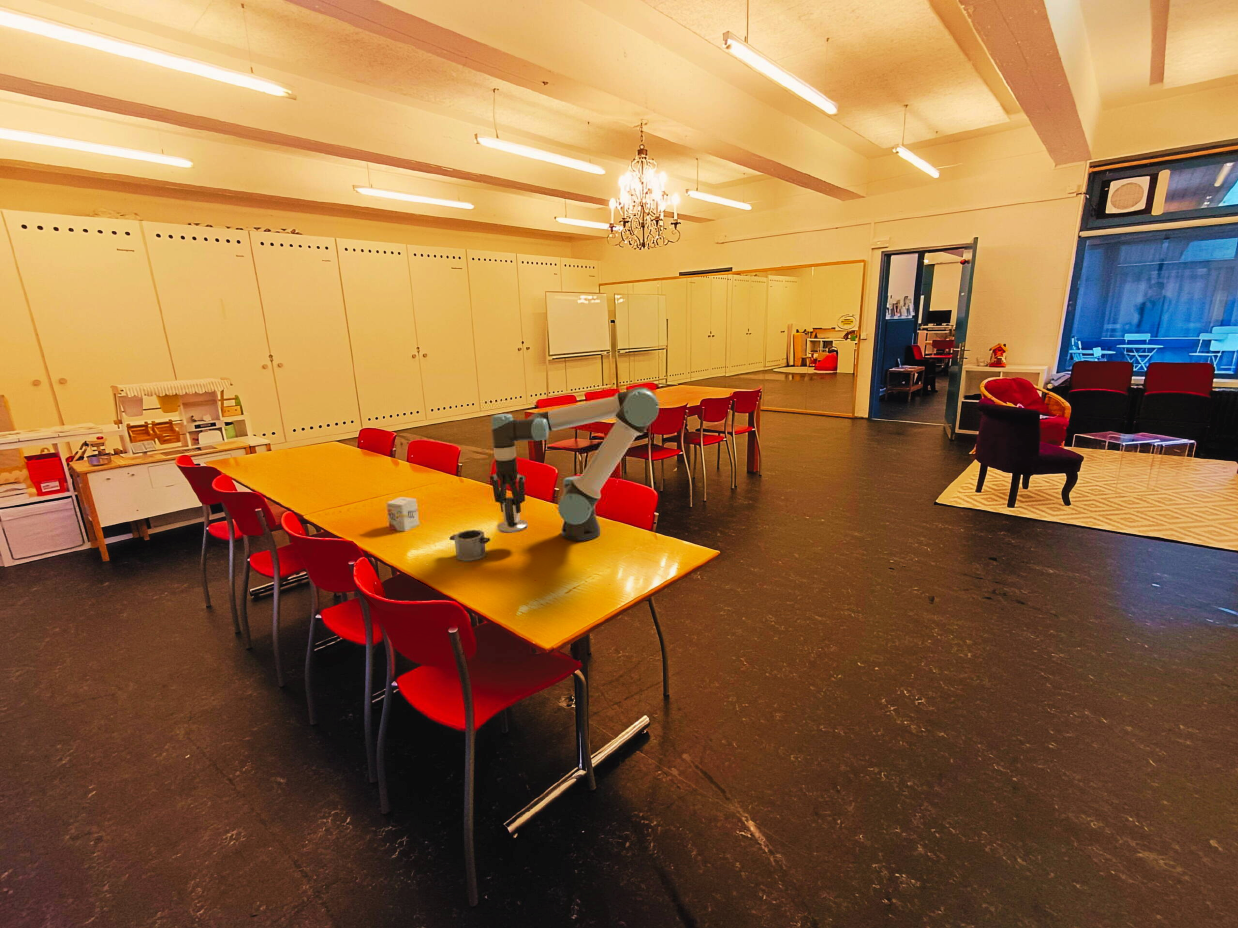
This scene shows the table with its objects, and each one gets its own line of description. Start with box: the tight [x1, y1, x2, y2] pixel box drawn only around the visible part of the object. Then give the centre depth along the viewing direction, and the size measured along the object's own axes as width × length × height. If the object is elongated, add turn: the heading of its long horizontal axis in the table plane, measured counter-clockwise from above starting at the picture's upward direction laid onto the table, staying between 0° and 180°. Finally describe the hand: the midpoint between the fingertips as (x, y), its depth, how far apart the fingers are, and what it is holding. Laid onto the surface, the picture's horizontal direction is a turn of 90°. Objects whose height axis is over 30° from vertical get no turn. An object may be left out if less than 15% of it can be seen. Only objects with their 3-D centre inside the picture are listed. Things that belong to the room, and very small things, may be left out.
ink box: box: [385, 496, 420, 532], centre depth 222 cm, size 9×9×12 cm
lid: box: [496, 496, 529, 534], centre depth 195 cm, size 11×11×11 cm
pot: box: [449, 529, 491, 563], centre depth 191 cm, size 15×10×8 cm
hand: (512, 520), depth 195 cm, fingers closed on lid, 4 cm apart
